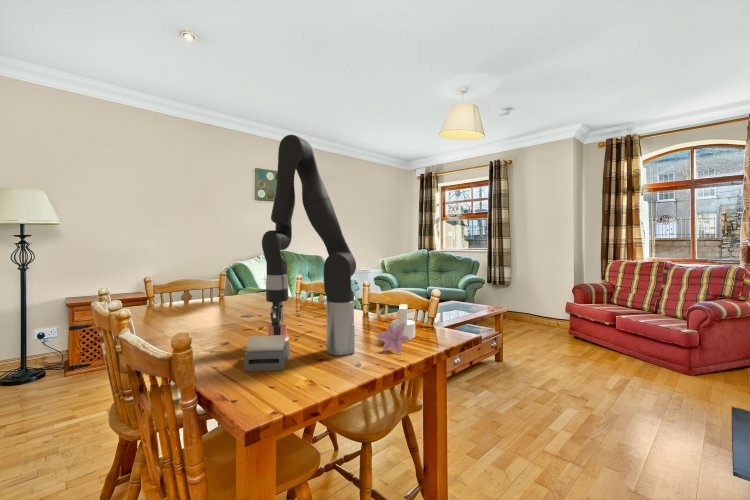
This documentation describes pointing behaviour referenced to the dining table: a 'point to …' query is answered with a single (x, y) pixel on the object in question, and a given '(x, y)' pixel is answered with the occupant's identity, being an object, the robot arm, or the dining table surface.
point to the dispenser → (266, 353)
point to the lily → (393, 337)
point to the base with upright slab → (409, 324)
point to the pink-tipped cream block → (282, 330)
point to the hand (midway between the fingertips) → (277, 336)
